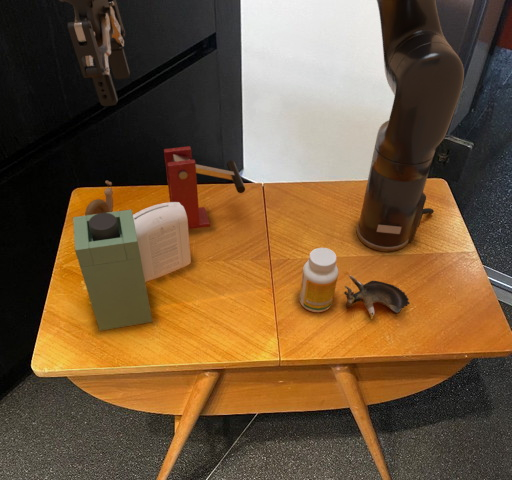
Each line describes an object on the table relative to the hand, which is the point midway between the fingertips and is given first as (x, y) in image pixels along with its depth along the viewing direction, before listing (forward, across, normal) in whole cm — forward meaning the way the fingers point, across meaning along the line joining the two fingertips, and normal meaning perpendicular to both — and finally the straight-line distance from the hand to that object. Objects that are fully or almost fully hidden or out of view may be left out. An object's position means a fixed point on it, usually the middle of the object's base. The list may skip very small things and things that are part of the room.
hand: (116, 90), depth 74 cm
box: (+28, -14, +5) cm, 31 cm away
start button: (+14, -14, +3) cm, 20 cm away
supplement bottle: (+32, -10, -25) cm, 42 cm away
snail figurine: (+27, +1, +10) cm, 28 cm away
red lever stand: (+28, +8, -3) cm, 29 cm away
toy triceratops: (+33, -12, -34) cm, 49 cm away
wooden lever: (+19, +9, -8) cm, 23 cm away
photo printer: (+28, -4, 0) cm, 29 cm away
